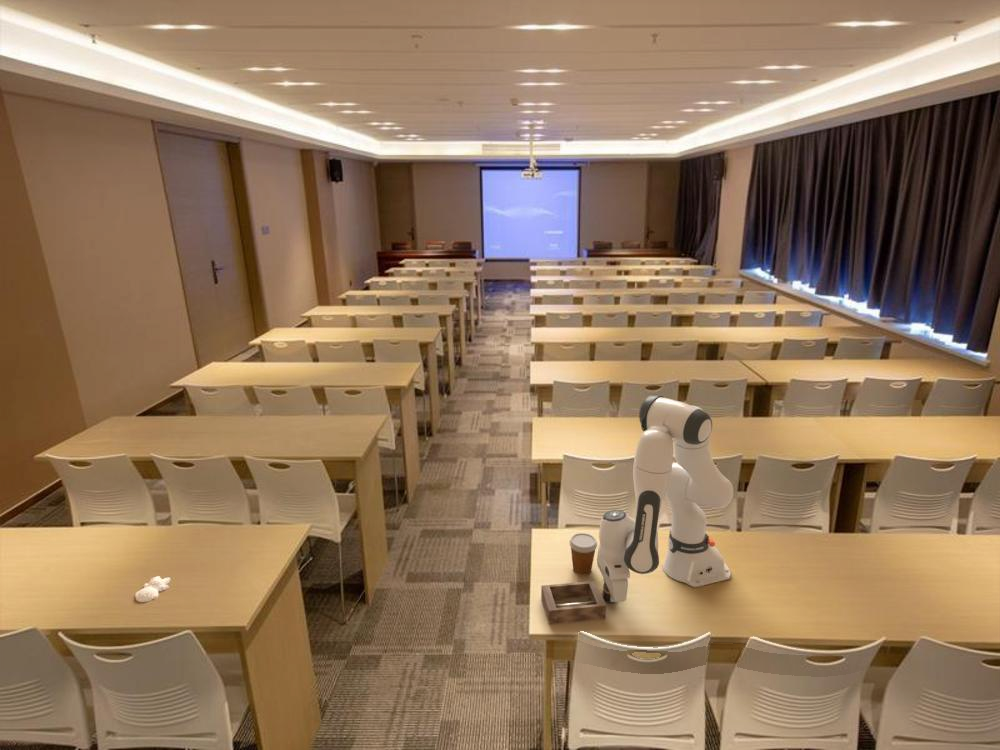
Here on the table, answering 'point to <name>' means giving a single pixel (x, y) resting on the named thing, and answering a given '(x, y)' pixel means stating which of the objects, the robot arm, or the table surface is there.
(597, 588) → the brown wooden frame
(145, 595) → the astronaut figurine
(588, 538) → the disposable coffee cup
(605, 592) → the orange-banded dark cylinder
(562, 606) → the metal rod
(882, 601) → the table surface
